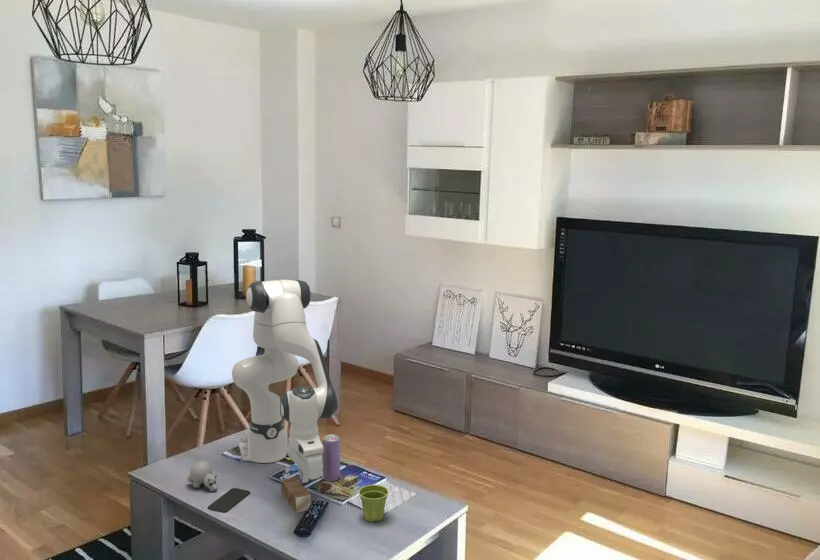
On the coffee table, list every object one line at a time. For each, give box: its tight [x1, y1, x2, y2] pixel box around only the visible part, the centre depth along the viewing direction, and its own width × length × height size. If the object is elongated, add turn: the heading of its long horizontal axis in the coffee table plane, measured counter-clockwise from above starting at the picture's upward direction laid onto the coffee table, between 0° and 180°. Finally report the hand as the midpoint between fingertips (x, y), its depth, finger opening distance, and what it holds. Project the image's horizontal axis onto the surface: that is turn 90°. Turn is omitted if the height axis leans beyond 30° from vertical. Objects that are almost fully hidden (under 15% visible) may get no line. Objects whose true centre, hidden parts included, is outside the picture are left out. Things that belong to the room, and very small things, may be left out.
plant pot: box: [358, 484, 390, 523], centre depth 223 cm, size 9×9×9 cm
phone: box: [207, 487, 251, 514], centre depth 232 cm, size 7×1×15 cm
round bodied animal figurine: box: [187, 460, 218, 492], centre depth 240 cm, size 7×12×8 cm, turn 53°
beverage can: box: [322, 434, 341, 482], centre depth 249 cm, size 6×6×15 cm
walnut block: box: [280, 476, 312, 514], centre depth 232 cm, size 5×5×14 cm
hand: (304, 480), depth 224 cm, fingers closed
